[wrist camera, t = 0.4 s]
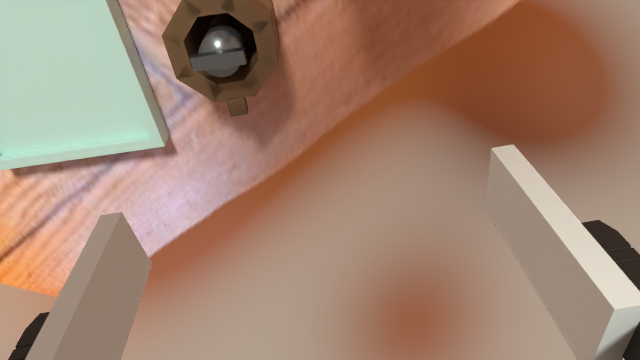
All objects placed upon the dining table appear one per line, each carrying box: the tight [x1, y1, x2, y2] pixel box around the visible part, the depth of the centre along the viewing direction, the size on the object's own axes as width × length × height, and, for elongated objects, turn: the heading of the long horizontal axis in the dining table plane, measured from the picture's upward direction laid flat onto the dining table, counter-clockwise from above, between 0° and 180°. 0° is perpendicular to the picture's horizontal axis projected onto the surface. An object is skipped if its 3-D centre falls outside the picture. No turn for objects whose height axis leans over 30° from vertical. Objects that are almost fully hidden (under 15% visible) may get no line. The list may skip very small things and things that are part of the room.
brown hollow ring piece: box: [162, 0, 279, 116], centre depth 34 cm, size 11×8×6 cm
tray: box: [0, 0, 169, 170], centre depth 36 cm, size 17×17×2 cm
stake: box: [190, 13, 247, 77], centre depth 33 cm, size 3×4×8 cm
